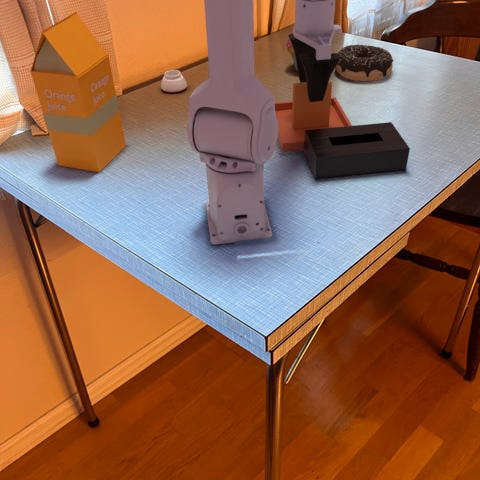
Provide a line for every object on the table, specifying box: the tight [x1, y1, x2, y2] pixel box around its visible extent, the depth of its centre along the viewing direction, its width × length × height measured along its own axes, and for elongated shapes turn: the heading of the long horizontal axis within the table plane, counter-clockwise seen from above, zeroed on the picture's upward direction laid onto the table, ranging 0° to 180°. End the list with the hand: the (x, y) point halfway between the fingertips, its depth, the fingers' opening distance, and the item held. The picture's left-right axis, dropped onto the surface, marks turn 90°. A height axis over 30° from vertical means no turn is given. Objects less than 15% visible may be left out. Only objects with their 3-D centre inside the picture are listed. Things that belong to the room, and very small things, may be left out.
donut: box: [334, 44, 394, 82], centre depth 109 cm, size 11×12×4 cm
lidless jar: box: [160, 69, 188, 93], centre depth 108 cm, size 5×3×5 cm
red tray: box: [275, 96, 353, 152], centre depth 94 cm, size 15×12×2 cm
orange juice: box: [30, 11, 127, 173], centre depth 84 cm, size 8×9×20 cm
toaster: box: [303, 121, 411, 181], centre depth 84 cm, size 9×14×4 cm, turn 97°
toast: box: [292, 79, 333, 129], centre depth 91 cm, size 1×6×7 cm, turn 97°
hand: (310, 90), depth 90 cm, fingers open, 7 cm apart
